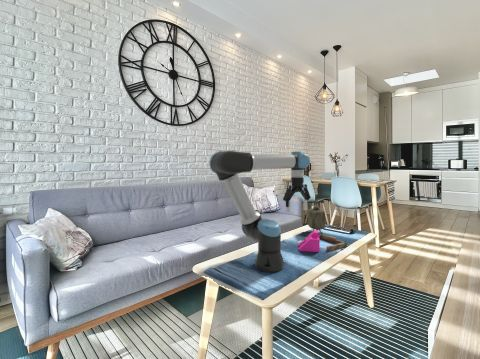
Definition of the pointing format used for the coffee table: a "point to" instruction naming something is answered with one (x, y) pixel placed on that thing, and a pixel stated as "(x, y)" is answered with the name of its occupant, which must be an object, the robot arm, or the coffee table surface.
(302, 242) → the bracket
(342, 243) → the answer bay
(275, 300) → the coffee table surface
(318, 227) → the brown pump bottle
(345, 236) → the coffee table surface
